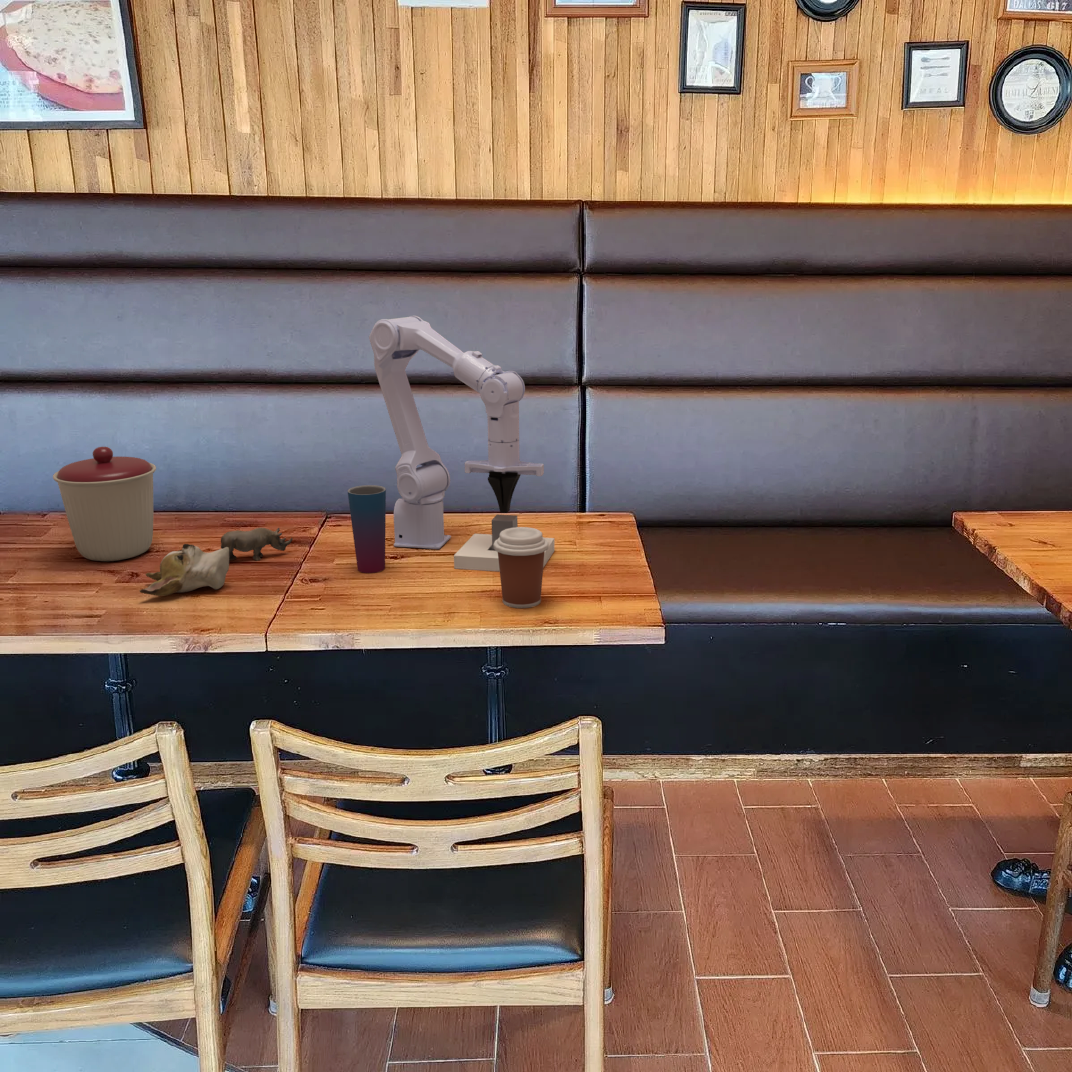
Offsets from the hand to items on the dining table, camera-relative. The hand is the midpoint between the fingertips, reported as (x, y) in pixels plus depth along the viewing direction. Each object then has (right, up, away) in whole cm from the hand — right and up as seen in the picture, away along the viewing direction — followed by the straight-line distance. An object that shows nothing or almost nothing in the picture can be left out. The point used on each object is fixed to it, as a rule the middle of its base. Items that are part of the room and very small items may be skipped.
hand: (504, 511), depth 187 cm
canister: (-76, -8, +8) cm, 76 cm away
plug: (0, -9, +3) cm, 9 cm away
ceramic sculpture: (-55, -14, -12) cm, 58 cm away
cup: (-25, -11, -2) cm, 27 cm away
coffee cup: (+3, -16, -18) cm, 24 cm away
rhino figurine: (-47, -9, +5) cm, 48 cm away
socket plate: (0, -9, +3) cm, 9 cm away
